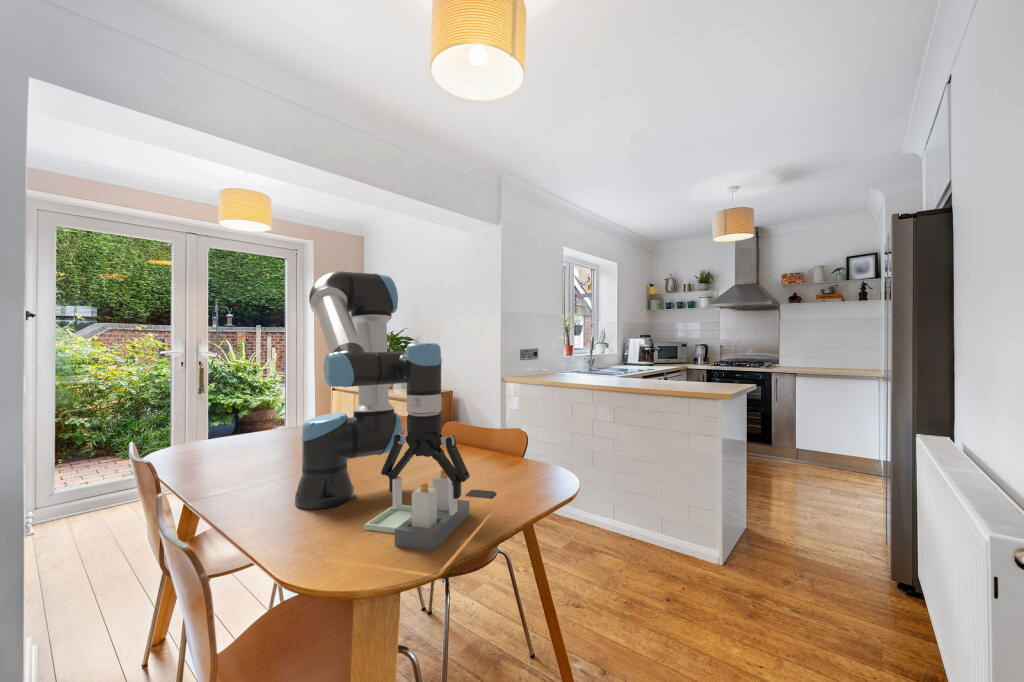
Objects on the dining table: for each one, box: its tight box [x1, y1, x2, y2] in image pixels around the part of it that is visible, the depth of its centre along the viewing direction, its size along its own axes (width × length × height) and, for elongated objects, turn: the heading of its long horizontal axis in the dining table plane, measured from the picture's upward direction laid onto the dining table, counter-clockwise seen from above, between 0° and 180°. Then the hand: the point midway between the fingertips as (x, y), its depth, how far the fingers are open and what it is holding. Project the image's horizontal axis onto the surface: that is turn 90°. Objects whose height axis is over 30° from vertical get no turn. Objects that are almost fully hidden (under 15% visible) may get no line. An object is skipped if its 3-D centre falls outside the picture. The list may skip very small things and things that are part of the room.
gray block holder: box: [394, 469, 470, 552], centre depth 101 cm, size 9×20×12 cm, turn 164°
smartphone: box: [464, 489, 496, 500], centre depth 120 cm, size 8×1×16 cm
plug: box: [411, 482, 437, 529], centre depth 96 cm, size 4×4×12 cm
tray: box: [363, 504, 412, 535], centre depth 106 cm, size 9×13×2 cm
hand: (424, 510), depth 96 cm, fingers open, 13 cm apart
